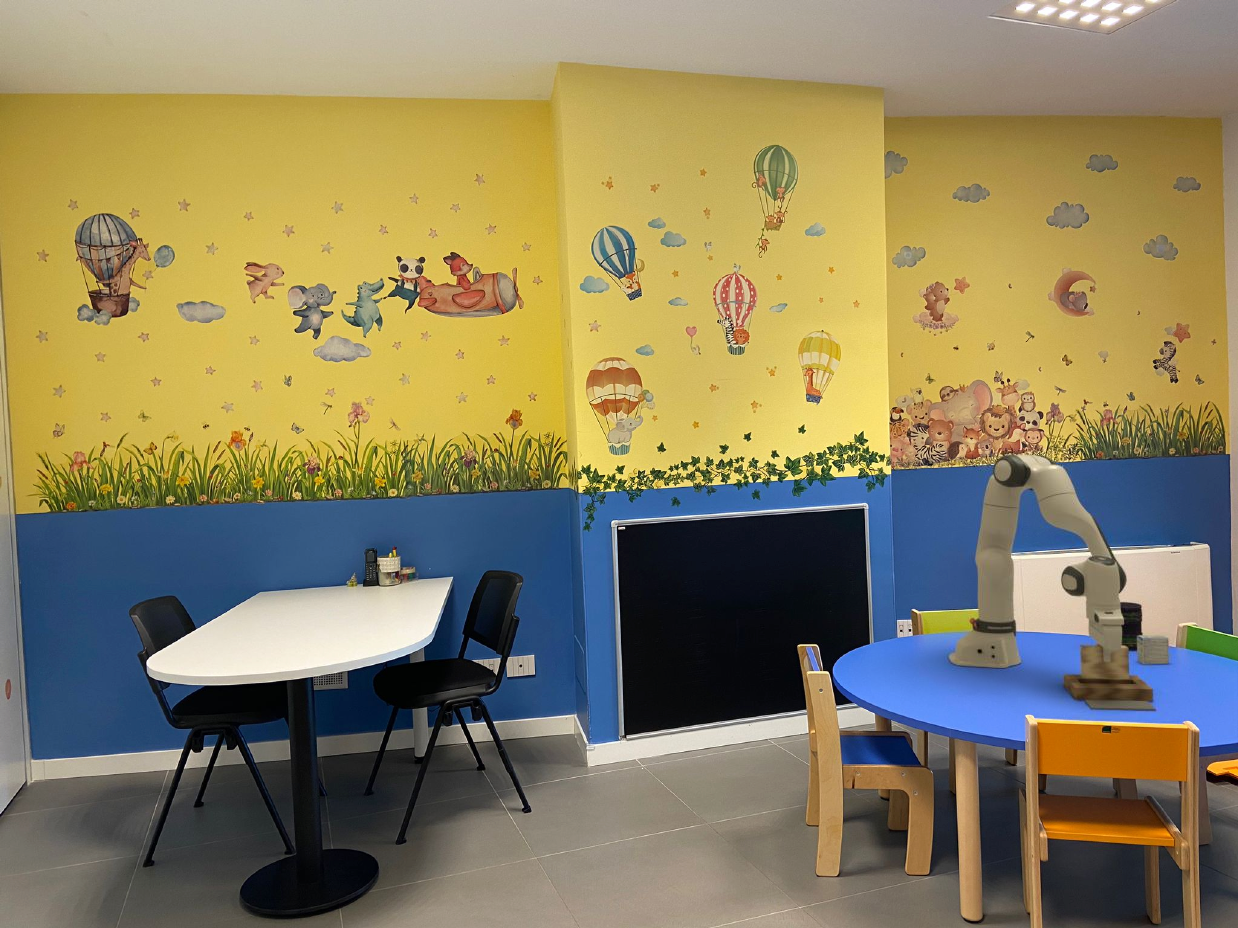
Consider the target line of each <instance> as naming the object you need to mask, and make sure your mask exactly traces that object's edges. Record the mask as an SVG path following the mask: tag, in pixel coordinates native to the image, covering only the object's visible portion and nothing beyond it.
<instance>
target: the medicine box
mask: <svg viewBox="0 0 1238 928" xmlns="http://www.w3.org/2000/svg"><path fill="white" fill-rule="evenodd" d="M1169 640H1170V639H1169V637H1167V636H1165V635H1163V634H1149V635H1148V634H1145V635H1144V634H1143V635H1140V636H1137V651H1136V653H1137V656H1136V657H1137V662H1138V663H1140V664H1142V665H1169V664H1170V646H1169V645H1170V644H1169V643H1170V641H1169Z"/></svg>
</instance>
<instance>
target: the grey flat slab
mask: <svg viewBox="0 0 1238 928" xmlns="http://www.w3.org/2000/svg"><path fill="white" fill-rule="evenodd" d="M1084 703H1086V704H1087V706H1088V707H1089V709H1091V710H1101V711H1102V710H1104V711H1105V710H1106V711H1108V710H1109V711H1146V712H1147V711H1150V712H1151V711H1152V712H1153V711H1154V712H1155V711H1157V709H1156V707H1155V706H1153V705H1152V704H1151V703H1150V701H1117V700H1084Z"/></svg>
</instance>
